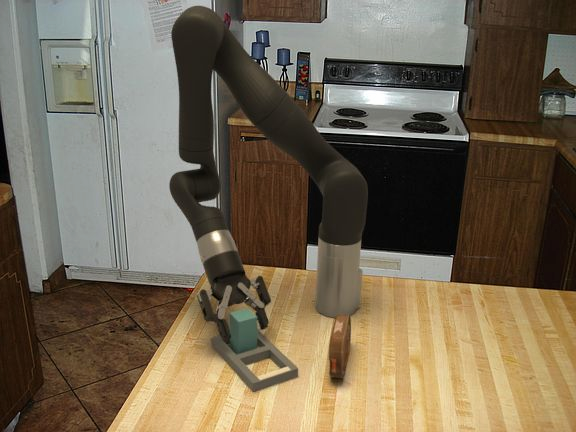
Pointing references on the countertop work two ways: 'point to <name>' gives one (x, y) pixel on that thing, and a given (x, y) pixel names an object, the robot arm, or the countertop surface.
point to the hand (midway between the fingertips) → (246, 333)
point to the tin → (340, 346)
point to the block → (243, 331)
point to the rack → (255, 355)
